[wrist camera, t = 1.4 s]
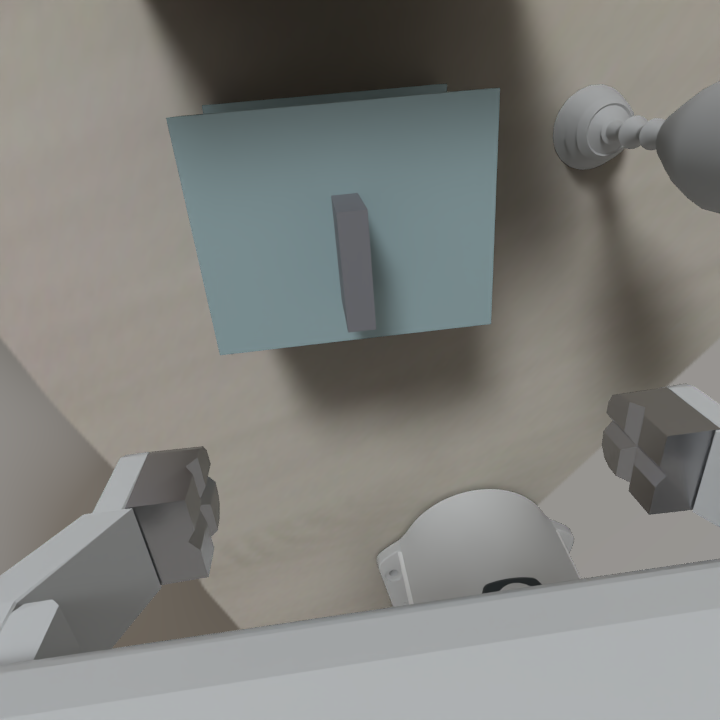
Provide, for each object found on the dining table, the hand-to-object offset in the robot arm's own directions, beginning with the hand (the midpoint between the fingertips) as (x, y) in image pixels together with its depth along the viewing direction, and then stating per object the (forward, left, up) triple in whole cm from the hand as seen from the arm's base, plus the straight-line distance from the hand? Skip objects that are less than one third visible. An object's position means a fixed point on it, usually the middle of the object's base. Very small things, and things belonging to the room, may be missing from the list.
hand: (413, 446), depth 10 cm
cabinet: (+1, 0, -27) cm, 27 cm away
